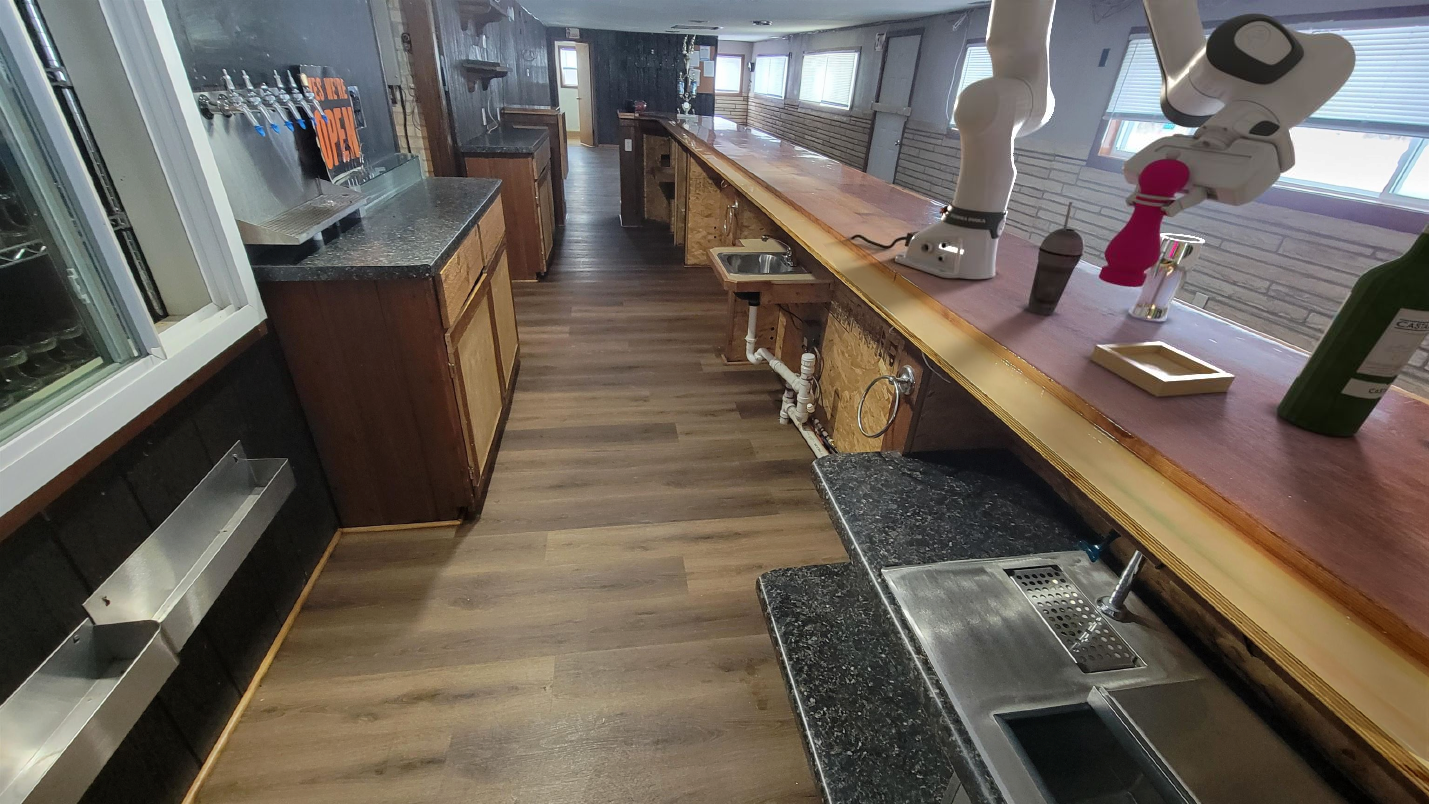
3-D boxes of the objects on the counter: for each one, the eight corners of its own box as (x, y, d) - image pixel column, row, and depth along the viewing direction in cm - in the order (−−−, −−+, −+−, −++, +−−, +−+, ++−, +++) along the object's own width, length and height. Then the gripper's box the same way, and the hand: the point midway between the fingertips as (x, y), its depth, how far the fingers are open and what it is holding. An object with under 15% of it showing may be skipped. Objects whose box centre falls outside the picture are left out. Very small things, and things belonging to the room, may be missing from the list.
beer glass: (1155, 311, 112) (1190, 234, 104) (1176, 324, 105) (1215, 244, 98) (1118, 308, 112) (1150, 232, 105) (1137, 321, 106) (1173, 241, 99)
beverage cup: (1045, 319, 105) (1084, 208, 95) (1011, 307, 110) (1045, 200, 100) (1069, 314, 108) (1110, 206, 98) (1035, 302, 113) (1070, 198, 103)
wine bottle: (1344, 444, 70) (1527, 191, 55) (1265, 415, 76) (1412, 179, 61) (1363, 428, 74) (1538, 187, 59) (1287, 401, 80) (1429, 176, 65)
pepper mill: (1150, 282, 92) (1209, 149, 82) (1141, 291, 87) (1203, 151, 77) (1100, 271, 96) (1151, 144, 86) (1090, 280, 91) (1142, 146, 81)
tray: (1089, 359, 90) (1095, 344, 89) (1153, 355, 92) (1160, 341, 91) (1157, 397, 79) (1165, 381, 78) (1227, 391, 82) (1235, 376, 81)
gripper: (1163, 117, 90) (1088, 181, 93) (1301, 129, 73) (1204, 207, 76) (1173, 148, 93) (1100, 209, 96) (1308, 167, 76) (1214, 240, 79)
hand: (1147, 209), depth 86 cm, fingers closed on pepper mill, 5 cm apart
